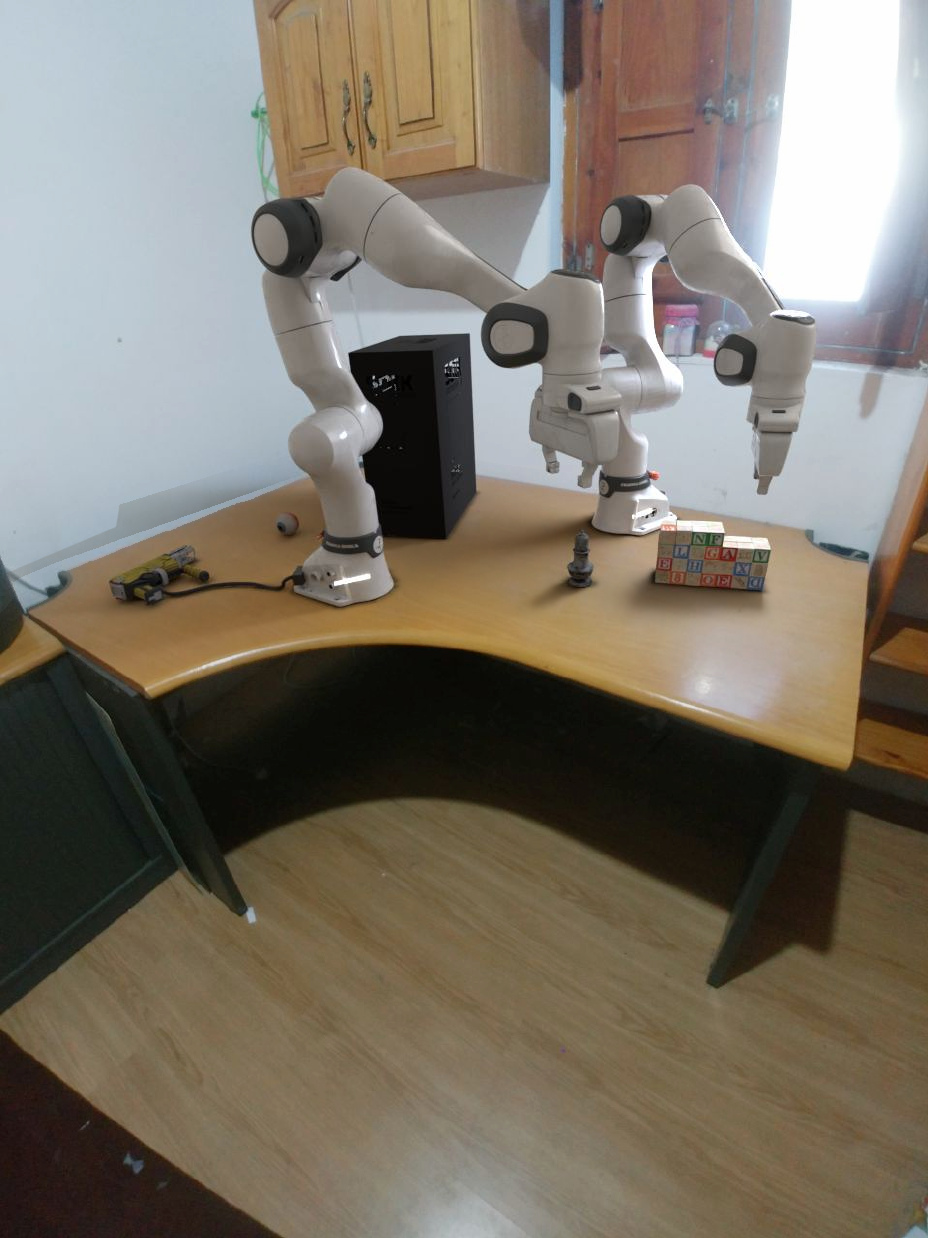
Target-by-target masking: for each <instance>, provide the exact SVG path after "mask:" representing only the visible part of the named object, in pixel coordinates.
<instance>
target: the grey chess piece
mask: <svg viewBox="0 0 928 1238" xmlns="http://www.w3.org/2000/svg"><path fill="white" fill-rule="evenodd" d="M584 532H585V531H584V530H583V529H581V530H580V533H578V534H576V535H574V536H575V537H574V548H572V552H573V560H572V561H570V562H569V563H567V565H566V569H567V571H568V574H569V576H570V577H569V578H568V579H567V583H568V584H569V585H570V586H572V587H577V588H582V587H588V586H591V585H592V584H593V579H592V578H591V575H592V574H593V571H594V570H595V565H594V564H593V563H592V562H590V561H589V553H590V552H591V549H590V548H589V544H590V536H589V535H588V534H587V533H584Z"/></svg>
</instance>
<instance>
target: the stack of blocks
mask: <svg viewBox="0 0 928 1238" xmlns="http://www.w3.org/2000/svg"><path fill="white" fill-rule="evenodd" d="M771 552H772V549H771V546H770V543H769V541H768V538H767V537H754V536H753V537H751V536H737V535H736V536H735V535H726V532H725V527H724V524H723V522H722V521H706V520H705V521H704V520H680V519H677V521H676V520H664V519H663V520H661V528H660V529H659V533H658V540H657V553H656V562H655V563H656V564H655V577H654V579H655V580H654V583H658V584H670V585H679V586H680V585H682V586H683V585H684V586H693V587H712V588H725V589H737V590H738V589H739V590H748V591H749V590H750V591H763V590H764V589H763V588H764V586H765V585H764V584H765V581H766V576H767V572H768V568H769V561H770V557H771Z"/></svg>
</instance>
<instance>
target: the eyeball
mask: <svg viewBox="0 0 928 1238" xmlns="http://www.w3.org/2000/svg"><path fill="white" fill-rule="evenodd" d="M299 525H300V522H299V519H298V517H297V516H296V515H295V514H294V513H292V512H287V511H286V512H282V513H280V514H279V515H278V516H277V517H276V520H275V527H276V529H277V530H278V531H279V532H280V533H281V534H282V535H285V536H286V535H287V536H289V535H293V534H295V533H296V532H297V531H298V529H299Z"/></svg>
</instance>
